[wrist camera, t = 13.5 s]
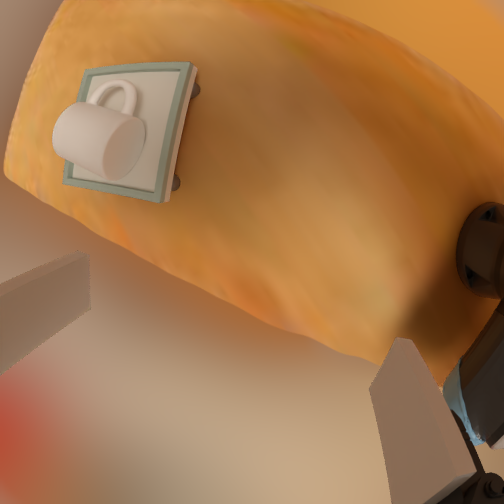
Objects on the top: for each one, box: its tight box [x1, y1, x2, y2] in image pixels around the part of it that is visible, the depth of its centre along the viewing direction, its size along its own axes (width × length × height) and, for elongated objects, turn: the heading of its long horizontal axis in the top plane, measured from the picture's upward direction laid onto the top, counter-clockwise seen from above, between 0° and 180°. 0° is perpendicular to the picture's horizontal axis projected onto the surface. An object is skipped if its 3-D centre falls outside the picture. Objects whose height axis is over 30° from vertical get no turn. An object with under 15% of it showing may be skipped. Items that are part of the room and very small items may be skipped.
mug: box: [52, 79, 145, 181], centre depth 28 cm, size 12×10×8 cm
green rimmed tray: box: [62, 62, 200, 203], centre depth 34 cm, size 18×18×7 cm
